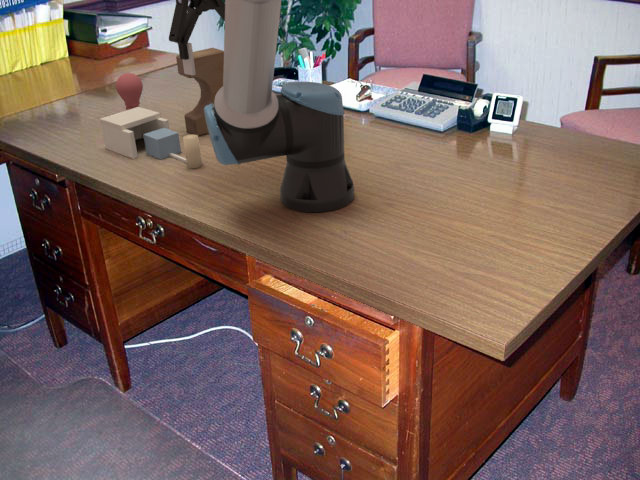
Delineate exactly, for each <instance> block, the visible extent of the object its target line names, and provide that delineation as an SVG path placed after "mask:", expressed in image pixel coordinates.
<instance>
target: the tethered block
mask: <svg viewBox="0 0 640 480" xmlns="http://www.w3.org/2000/svg"><path fill="white" fill-rule="evenodd" d="M169 129H170V128H169ZM169 129H167V128H162V129H158V130H155V131H152V132H149V133H146V134H143V136H144V138H143V142H144V148H145V152H146V155H148V156H151V157H153V158H156V159H158V160H164V159H167V158H168V157H170V158H173V159H175V160H176V161H177V160H178V161H180V162H182V163H184V164H186V167H187V168H188V169H193V170H194V169H199V168H201V167H202V166H203V160H202V154H201V148H200V139H199V136H198V135H194V134H186V135H184V136H183V138H182V141H183V146H184V154H185V157H183V156H181V155H179V154H181V153H182V149H181V148H182V147H181V142H180V141H181V140H180V135H179V132H177V131H174V130H171V129H170V130H169Z"/></svg>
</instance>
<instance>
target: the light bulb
mask: <svg viewBox="0 0 640 480" xmlns="http://www.w3.org/2000/svg"><path fill="white" fill-rule="evenodd" d="M115 89H116V91H117V94H118V96H119V97H120V98H121V100H123V102H124V105H125V111H126V110H130V109H133V108H136V107H140V104H141V103H140V99H141V96H142V93H143V90H144V87H143V81H142V80H141V78H140V77H139V76H138V75H136V74H134V73H131V72H127V73H123V74H121V75H120V76H119V77H118V78H117V80H116V83H115Z"/></svg>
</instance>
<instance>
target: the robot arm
mask: <svg viewBox="0 0 640 480" xmlns="http://www.w3.org/2000/svg"><path fill="white" fill-rule="evenodd" d="M281 6H282V0H175V7H174V10H173V16H172V20H171V25H170V26H171V27H170V30H169V36H168V41H169V42H171V43H175V44H177V47H178V55H180V58H181V59H182V60H183V67H184V74H188V75H196V73H195V66H194V58H193V52H194V51H193V46H192V44H193V43H192V42H189V40H190V38H191V37H192V36H191V35H192V33H193V31H194V29H195V26H196V25H197V22H198V20H199V18H200V16H201V15H202V14H203V13H204V12H208V11H214V10H215V12H216V13H217V14H218V15H219V17H220V18H221V19H222V20H223V21H224V31H223V32H224V38H223V39H224V40H223V41H224V42H223V51H224V72H223V87H221V88H220V89H219V91H218V92H217V94H216V96H215V100H214V104H213V103H212V104H209V105H207V106H205V107H204V114H205V119H206V124H207V128H208V132H209V133H208V135H209V139H210V141H211V146H212V148H213V153H214V154H215V157H216V160H217V162H218V163H220V164H221V165H222V166H229V165H242V164H245V163H252V162H257V161H263V160H268V159H273V158H275V159H276V158H278V157H284V156H286V157H285V158H286V166H285V169H284V173H283V176H282V180H281V184H280V189H279V193H280V201H281V203H282V204H283V205H284V206H285V207H287V208H290V209H291V210H293V211H298V212H303V213H304V212H305V213H322V212H323V213H325V212H331V211H335V210H338V209H341V208H344V207H345V206H347V205H349V204H350V203H351V202H352V201H353V200H354V198H355V185H354V181H353V179H352V176H351V173H350V170H349V168H348V166H347V163H346V158H345V130H344V128H345V126H344V120H345V119H344V118H345V117H344V116H345V110H344V105H343V96H342V93H341V92H340V90H339V89H337V88H336V87H334V86H332V85H329V84H325V83H321V82H314V81H291V82H288V83H285V84H283V85H282V86H281V89H280V94H276V93H275V92H274V91H273V86H274V85H273V84H274V74H275V63H276V57H277V45H278V36H279V27H280V18H281V17H280V16H281V10H282V9H281Z"/></svg>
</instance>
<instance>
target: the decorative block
mask: <svg viewBox="0 0 640 480" xmlns="http://www.w3.org/2000/svg"><path fill="white" fill-rule="evenodd" d="M175 58H176V59H175V60H176V66H177V74H179V75H180V76H183V77H185V78H188V79H194V80H195V81H196V82H197V83H198V86H199V89H200V97H199V100H198V101H197V104H196V105H195V106H194V108H193V109H192V110H191V111H189V112H187V113H185V114H184V123H185V131H186V132H187V133H189V134H190V135H192V134H194V135H198V137H200V136H204V135H206V134H208V135H209V132H208V128H207V124H206V119H205V114H204V107H205V106H207V105H209V104H212V103H213V104H214V100H215V96H216V94H217V92H218V91H219V89H220V88H221V87H223V72H224V49H223V50H222V49H218V48H216V47H210V48H203V49H200V50H194V51H193V58H194V66H195V73H196V75H188V74H184V67H183V60H182V59H181V58H180V55H179V54H177V55H176V57H175Z"/></svg>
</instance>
